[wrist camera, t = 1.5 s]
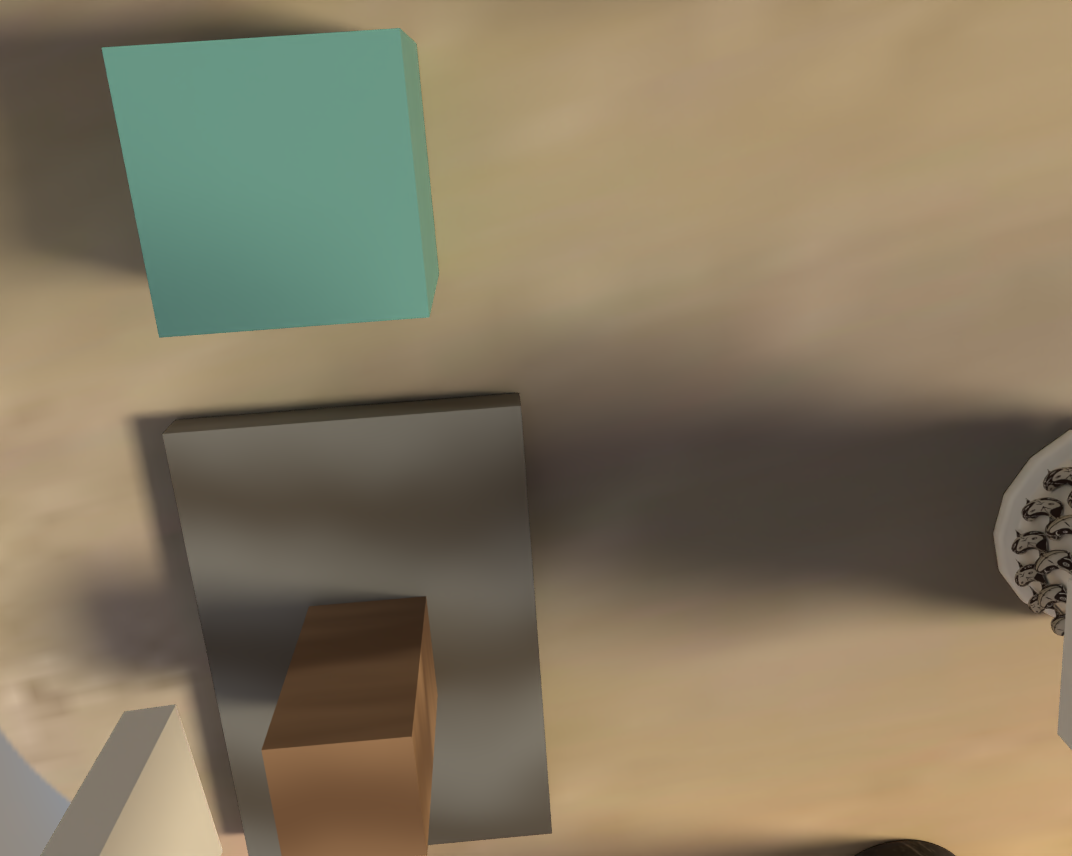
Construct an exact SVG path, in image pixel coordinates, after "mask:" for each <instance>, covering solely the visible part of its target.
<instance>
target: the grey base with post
mask: <svg viewBox="0 0 1072 856" xmlns="http://www.w3.org/2000/svg"><path fill="white" fill-rule="evenodd" d="M162 436H163V440H164V445H165V450H166V455H167V460H168V465H169V470H170V475H171V479H172V484H173V489H174V494H175V499H176V504H177V509H178V513H179V518H180V523H181V528H182V533H183V538H184V543H185V548H186V552H187V557H188V562H189V567H190V572H191V577H192V582H193V587H194V591H195V596H196V601H197V606H198V611H199V616H200V621H201V626H202V630H203V635H204V640H205V645H206V650H207V655H208V660H209V665H210V669H211V674H212V679H213V684H214V689H215V694H216V699H217V704H218V708H219V713H220V718H221V723H222V728H223V733H224V738H225V743H226V747H227V752H228V757H229V762H230V767H231V772H232V777H233V782H234V786H235V791H236V796H237V801H238V806H239V811H240V816H241V821H242V825H243V830H244V835H245V840H246V845H247V850H248V855H249V856H425V855H427V848H428V845H433V844H444V843H455V842H465V841H476V840H486V839H497V838H508V837H518V836H529V835H539V834H550V833H552V827H551V813H550V799H549V785H548V772H547V758H546V744H545V730H544V716H543V703H542V689H541V675H540V661H539V647H538V634H537V620H536V606H535V592H534V579H533V565H532V551H531V537H530V523H529V510H528V496H527V482H526V468H525V455H524V441H523V427H522V413H521V403H520V396H519V393H511V394H499V395H486V396H473V397H460V398H447V399H435V400H422V401H409V402H396V403H384V404H371V405H358V406H345V407H333V408H320V409H307V410H294V411H282V412H269V413H256V414H243V415H230V416H218V417H205V418H192V419H179V420H175V421H174V422H173V423H172V424H171V425H170V426H169V427H168V428H167V430H166V431H165V432H164V433H163V434H162Z"/></svg>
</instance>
